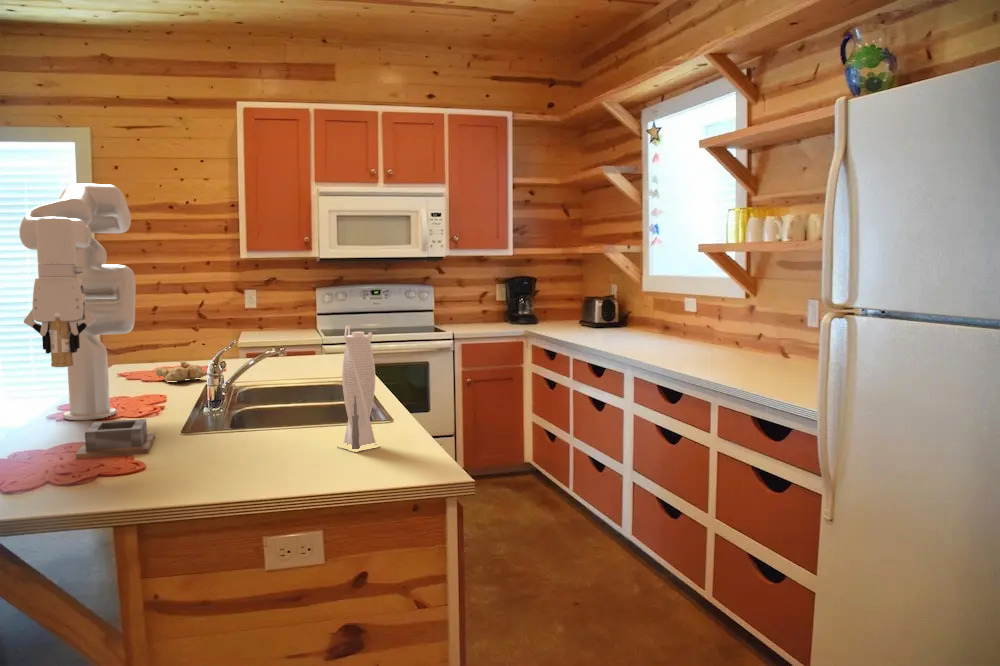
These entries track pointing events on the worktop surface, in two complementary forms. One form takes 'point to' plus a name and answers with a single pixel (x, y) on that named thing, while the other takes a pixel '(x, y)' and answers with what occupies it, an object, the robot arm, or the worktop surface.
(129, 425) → the socket
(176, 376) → the ginger root
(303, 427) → the worktop surface
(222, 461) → the worktop surface
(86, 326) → the robot arm
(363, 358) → the skyscraper
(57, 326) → the sprinkles bottle
